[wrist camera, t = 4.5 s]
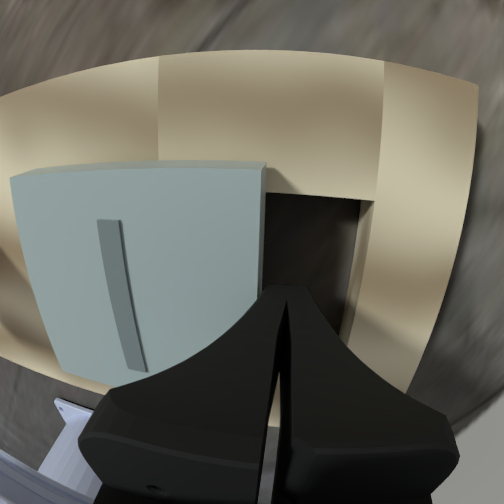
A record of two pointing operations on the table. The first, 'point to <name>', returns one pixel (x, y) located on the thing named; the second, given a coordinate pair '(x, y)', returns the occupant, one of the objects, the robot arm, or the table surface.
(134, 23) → the table surface
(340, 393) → the robot arm
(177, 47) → the table surface
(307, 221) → the table surface
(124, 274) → the lid
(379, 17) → the table surface
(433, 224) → the light wood flat board
